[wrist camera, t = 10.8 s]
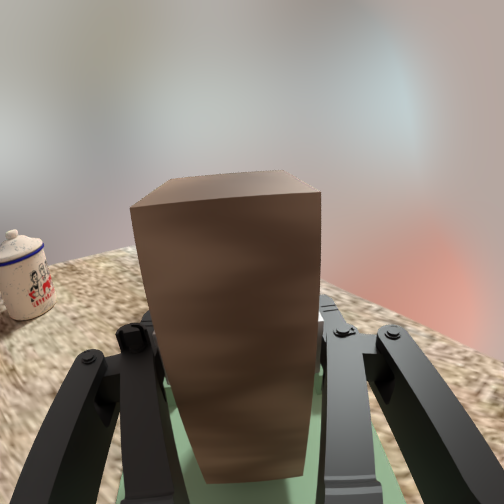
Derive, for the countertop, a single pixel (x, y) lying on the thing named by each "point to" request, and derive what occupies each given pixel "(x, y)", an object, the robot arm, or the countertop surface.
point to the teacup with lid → (25, 277)
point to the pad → (273, 491)
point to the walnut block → (236, 314)
